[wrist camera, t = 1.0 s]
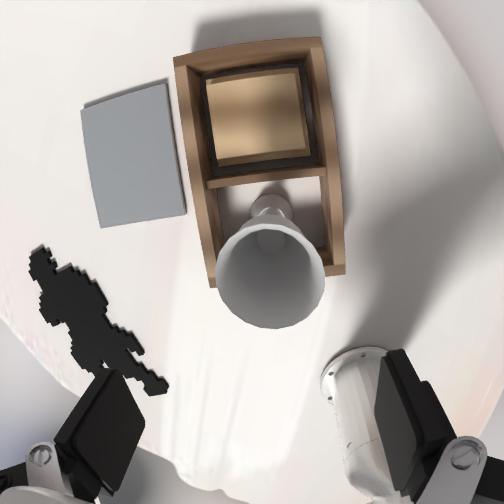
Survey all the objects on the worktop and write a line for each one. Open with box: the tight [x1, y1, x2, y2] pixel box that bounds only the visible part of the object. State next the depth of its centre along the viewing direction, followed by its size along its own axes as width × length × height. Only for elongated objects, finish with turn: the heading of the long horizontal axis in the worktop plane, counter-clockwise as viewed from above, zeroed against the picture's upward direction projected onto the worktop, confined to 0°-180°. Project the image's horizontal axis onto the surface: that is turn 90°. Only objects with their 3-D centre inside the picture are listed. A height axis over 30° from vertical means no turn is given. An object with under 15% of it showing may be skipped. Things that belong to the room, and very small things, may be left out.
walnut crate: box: [173, 37, 345, 288], centre depth 31 cm, size 24×14×6 cm, turn 8°
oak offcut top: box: [206, 73, 305, 159], centre depth 30 cm, size 8×9×2 cm
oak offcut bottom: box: [206, 67, 310, 167], centre depth 32 cm, size 10×10×2 cm
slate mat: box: [80, 83, 187, 228], centre depth 34 cm, size 16×12×1 cm
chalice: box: [215, 194, 325, 329], centre depth 28 cm, size 7×7×18 cm
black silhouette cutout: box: [28, 247, 169, 396], centre depth 44 cm, size 16×1×30 cm
